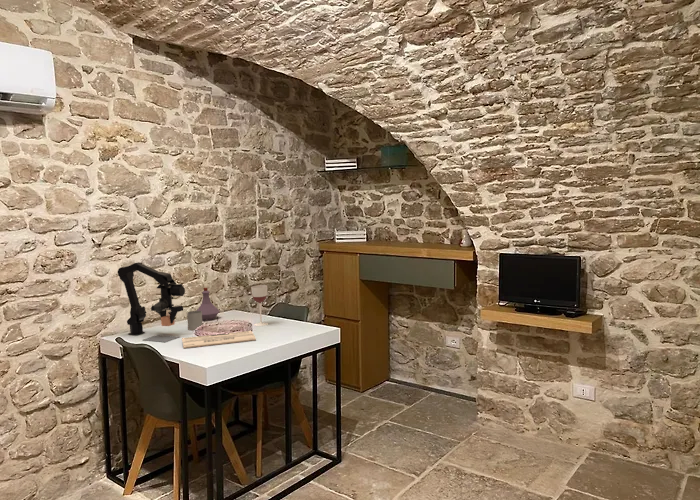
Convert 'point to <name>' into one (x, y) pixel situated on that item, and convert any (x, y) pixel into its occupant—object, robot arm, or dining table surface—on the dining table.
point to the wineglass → (259, 298)
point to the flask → (207, 307)
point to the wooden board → (218, 339)
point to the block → (166, 321)
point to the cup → (194, 319)
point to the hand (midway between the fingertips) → (168, 323)
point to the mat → (161, 338)
